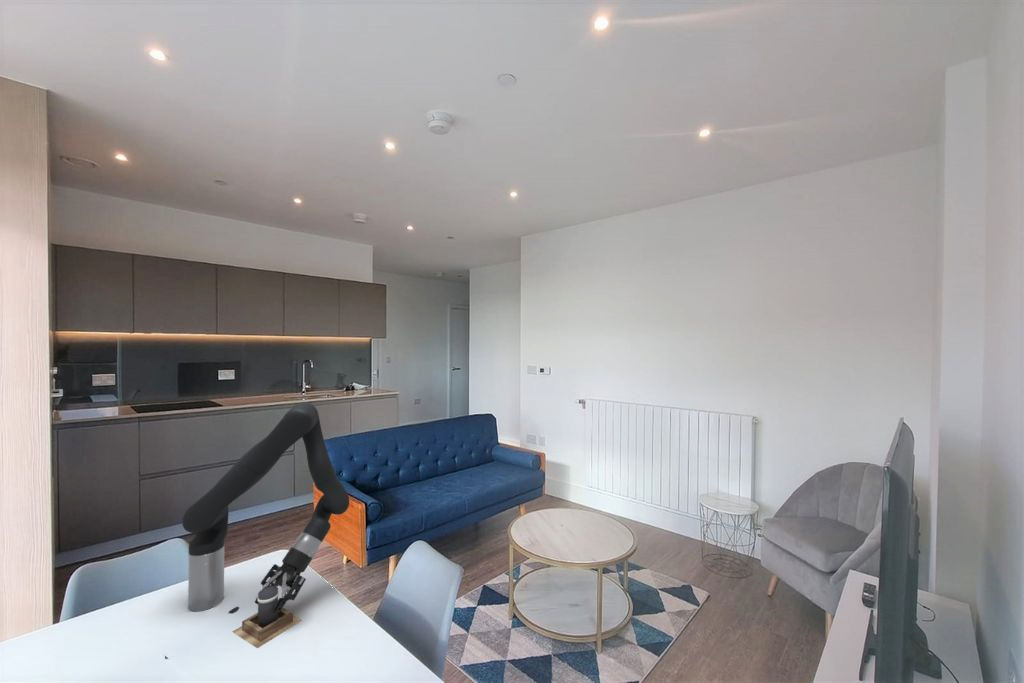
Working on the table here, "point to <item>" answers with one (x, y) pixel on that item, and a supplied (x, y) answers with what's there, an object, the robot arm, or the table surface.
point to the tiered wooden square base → (265, 628)
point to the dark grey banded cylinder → (267, 606)
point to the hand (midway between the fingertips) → (265, 608)
